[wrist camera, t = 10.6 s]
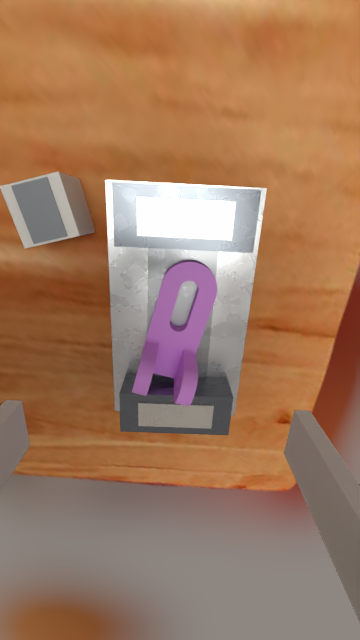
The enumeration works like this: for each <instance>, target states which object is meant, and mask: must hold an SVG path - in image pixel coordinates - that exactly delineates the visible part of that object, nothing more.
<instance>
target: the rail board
mask: <svg viewBox="0 0 360 640" xmlns="http://www.w3.org/2000/svg"><path fill="white" fill-rule="evenodd" d="M105 187H106V211H107V234H108V258H109V282H110V305H111V329H112V353H113V376H114V400H115V411H120V427H121V431H126V432H154V433H182V434H210V435H228V433H229V426H230V418H231V415H235V408H236V401H237V394H238V387H239V380H240V373H241V366H242V359H243V352H244V345H245V338H246V331H247V324H248V316H249V309H250V302H251V295H252V288H253V281H254V274H255V267H256V260H257V253H258V246H259V239H260V232H261V225H262V218H263V211H264V204H265V197H266V190H267V188H254V187H235V186H216V185H197V184H178V183H159V182H140V181H121V180H105ZM182 260H196V261H199V262H201V263H203V264H205V265H206V266H207V267H208V268H209V269H210V270H211V272H212V273H213V275H214V277H215V279H216V282H217V295H216V299H215V301H214V304H213V307H212V310H211V313H210V315H209V318H208V321H207V324H206V327H205V329H204V332H203V335H202V338H201V341H200V344H199V346H198V349H197V353H196V357H197V366H198V382H197V387H196V392H195V395H194V398H193V401H192V403H191V405H190V406H184V405H180V404H176V403H174V401H173V397H174V378H170V377H166V376H162V375H158V374H154V373H153V376H152V379H151V383H150V386H149V390H148V393H147V395H146V396H144V395H140V394H136V393H132V389H133V385H134V382H135V378H136V374H137V370H138V367H139V363H140V359H141V356H142V352H143V349H144V345H145V341H146V338H147V334H148V331H149V327H150V324H151V320H152V316H153V313H154V309H155V306H156V302H157V299H158V295H159V291H160V288H161V284H162V281H163V278H164V275H165V273H166V272H167V270H168V269H169V268H170V267H171V266H172V265H173V264H175V263H177V262H179V261H182ZM197 289H198V286H197V284H196V283H195V282H193V281H186V282H184V283H183V284H182V285H181V287H180V290H179V293H178V297H177V300H176V303H175V306H174V310H173V313H172V316H171V320H170V321H171V323H172V324H173V325H174V326H177V327H181V326H183V325H185V324H186V322H187V319H188V316H189V313H190V310H191V307H192V304H193V301H194V298H195V295H196V292H197Z"/></svg>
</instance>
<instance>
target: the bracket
mask: <svg viewBox="0 0 360 640" xmlns="http://www.w3.org/2000/svg"><path fill="white" fill-rule="evenodd" d="M186 281H193V282H195V283H196V284H197V286H198V289H197V292H196V295H195V298H194V301H193V304H192V307H191V310H190V313H189V316H188V319H187V322H186V324H185V325H183V326H181V327H177V326H174V325H173V324H172V323H171V321H170V320H171V316H172V313H173V310H174V306H175V303H176V300H177V297H178V293H179V290H180V287H181V285H182V284H183V283H184V282H186ZM216 295H217V282H216V279H215V277H214V275H213V273H212V272H211V270H210V269H209V268H208V267H207V266H206V265H205V264H203V263H201V262H199V261H196V260H182V261H179V262H177V263H175V264H173V265H172V266H171V267H170V268H169V269H168V270H167V272H166V273H165V275H164V278H163V281H162V284H161V288H160V291H159V295H158V299H157V302H156V306H155V309H154V313H153V316H152V320H151V324H150V327H149V331H148V334H147V338H146V341H145V345H144V349H143V352H142V356H141V359H140V363H139V367H138V370H137V374H136V378H135V382H134V385H133V389H132V393H136V394H140V395H144V396H146V395H147V393H148V390H149V386H150V383H151V379H152V376H153V373H154V374H158V375H162V376H166V377H170V378H174V397H173V401H174V403H176V404H180V405H184V406H190V405H191V403H192V401H193V398H194V395H195V392H196V387H197V382H198V366H197V357H196V353H197V349H198V346H199V344H200V341H201V338H202V335H203V332H204V329H205V327H206V324H207V321H208V318H209V315H210V313H211V310H212V307H213V304H214V301H215V299H216Z"/></svg>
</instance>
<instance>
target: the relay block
mask: <svg viewBox="0 0 360 640" xmlns="http://www.w3.org/2000/svg"><path fill="white" fill-rule="evenodd" d="M0 189H1V191H2V194H3V196H4V198H5V201H6V203H7V206H8V208H9V211H10V213H11V216H12V218H13V221H14V223H15V226H16V228H17V231H18V233H19V236H20V238H21V241H22V243H23V246H24V248H30V247H34V246H39V245H43V244H47V243H52V242H56V241H60V240H64V239H69V238H73V237H77V236H82V235H86V234H90V233H95V232H96V231H95V228H94V225H93V222H92V219H91V215H90V212H89V209H88V206H87V202H86V199H85V196H84V193H83V190H82V186H81V183H80V180H79V178H76V177H73V176H70V175H67V174H64V173H61V172H55V173H51V174H47V175H43V176H39V177H35V178H31V179H27V180H23V181H19V182H15V183H11V184H7V185H3V186H0Z"/></svg>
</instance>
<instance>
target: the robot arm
mask: <svg viewBox="0 0 360 640" xmlns="http://www.w3.org/2000/svg"><path fill="white" fill-rule="evenodd" d="M29 446H30V443H29V438H28V432H27V427H26V421H25V415H24V410H23V404H22V401H16V400H5V401H4V402H3V403H2V404H1V406H0V492H1V491H2V489H3V488H4V486H5V484H6V483H7V481H8V480H9V478H10V476H11V475H12V473H13V472H14V470H15V469H16V467H17V465H18V464H19V462H20V461H21V459H22V457H23V456H24V454H25V453H26V451H27V449H28V448H29ZM284 454H285V457H286V459H287V461H288V463H289V466H290V468H291V470H292V472H293V475H294V477H295V479H296V481H297V483H298V486H299V488H300V490H301V492H302V495H303V497H304V499H305V501H306V504H307V506H308V508H309V510H310V512H311V515H312V517H313V519H314V521H315V524H316V526H317V528H318V530H319V533H320V535H321V537H322V539H323V542H324V544H325V546H326V548H327V550H328V553H329V555H330V557H331V559H332V562H333V564H334V566H335V568H336V571H337V573H338V575H339V577H340V580H341V582H342V584H343V586H344V589H345V591H346V593H347V595H348V597H349V600H350V602H351V604H352V607H353V609H354V611H355V613H356V615H357V618H358V620H359V622H360V484H359V483H358V482H357V480H356V479H355V477H354V476H353V474H352V473H351V471H350V470H349V468H348V467H347V465H346V464H345V462H344V461H343V459H342V458H341V456H340V455H339V453H338V452H337V450H336V449H335V447H334V446H333V445H332V443H331V442H330V440H329V439H328V437H327V436H326V434H325V433H324V431H323V430H322V428H321V427H320V426H319V424H318V423H317V421H316V419H315V418H314V416H313V415H312V413H311V412H310V411H301V410H294V414H293V418H292V422H291V426H290V431H289V435H288V439H287V443H286V447H285V451H284Z"/></svg>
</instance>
